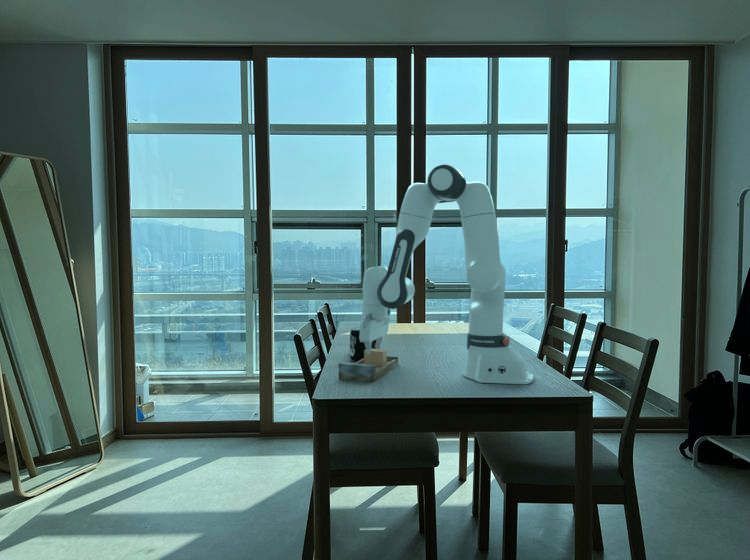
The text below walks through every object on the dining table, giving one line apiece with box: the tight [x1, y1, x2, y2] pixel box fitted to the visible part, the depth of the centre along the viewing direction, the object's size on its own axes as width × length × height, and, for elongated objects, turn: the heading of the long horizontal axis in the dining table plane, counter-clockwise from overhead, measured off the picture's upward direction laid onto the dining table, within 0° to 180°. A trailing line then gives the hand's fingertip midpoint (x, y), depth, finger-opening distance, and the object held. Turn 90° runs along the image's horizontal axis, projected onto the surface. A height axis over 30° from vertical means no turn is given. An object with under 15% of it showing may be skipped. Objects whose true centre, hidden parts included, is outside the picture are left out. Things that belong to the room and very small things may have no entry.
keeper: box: [364, 348, 388, 366], centre depth 183 cm, size 7×4×5 cm, turn 70°
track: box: [338, 355, 399, 383], centre depth 178 cm, size 12×26×5 cm, turn 160°
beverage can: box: [349, 326, 366, 363], centre depth 195 cm, size 7×7×12 cm
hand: (373, 351), depth 183 cm, fingers open, 8 cm apart
